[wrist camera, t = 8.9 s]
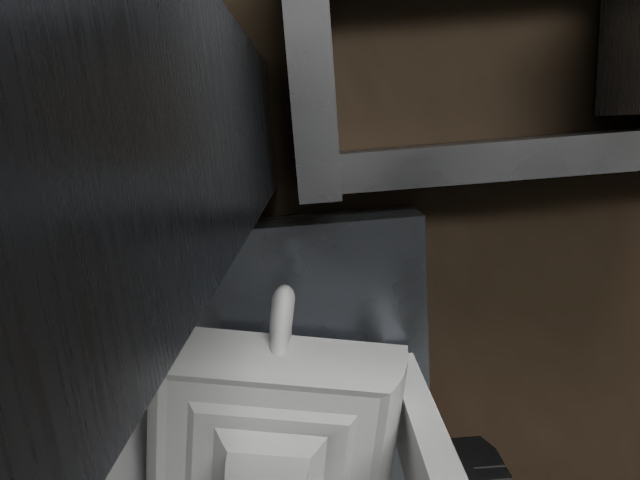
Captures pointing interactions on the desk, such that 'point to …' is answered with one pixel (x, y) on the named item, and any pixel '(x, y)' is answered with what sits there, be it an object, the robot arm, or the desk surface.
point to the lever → (618, 59)
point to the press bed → (157, 224)
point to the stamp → (277, 406)
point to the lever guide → (421, 160)
